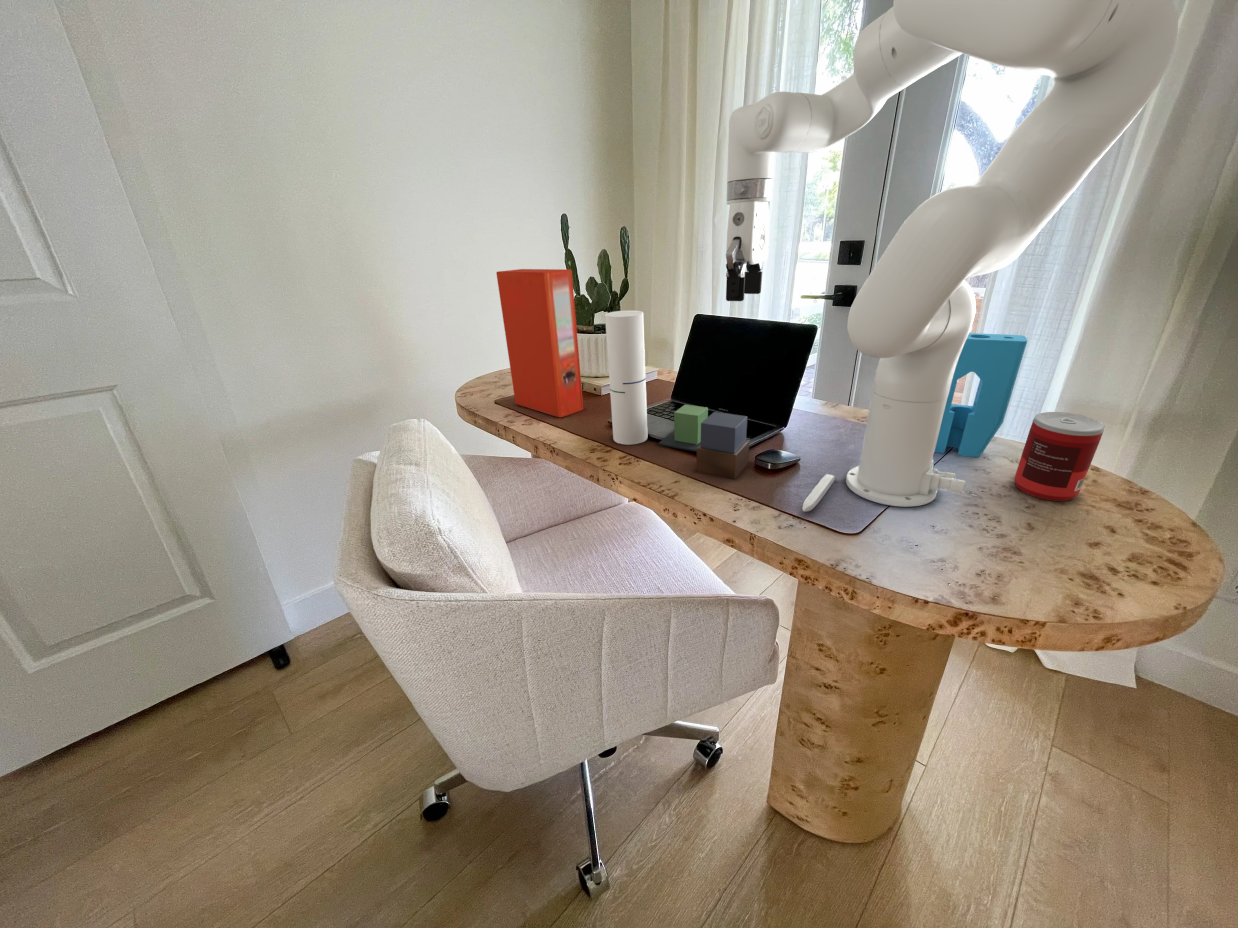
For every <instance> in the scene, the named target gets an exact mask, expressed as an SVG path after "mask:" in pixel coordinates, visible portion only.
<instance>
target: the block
mask: <svg viewBox="0 0 1238 928" xmlns="http://www.w3.org/2000/svg"><path fill="white" fill-rule="evenodd" d="M1028 341H1029V340H1028V338H1027V337H1026V336H1025V335H1022V334H1006V333H1005V334H1004V333H1003V334H1001V333H980V332H979V333H978V332H977V333H976V332H969V334H968V337H967V339H966V341H965V344H964V346H963V348H962V351H961V353H960V356H959V359H958V362H957V365H956V368H955V372H954V375H953V379H952V383H951V387H950V391H949V395H948V398H947V402H946V406H945V410H944V414H943V418H942V422H941V426H940V431H939V435H938V439H937V443H936V447H935V451H934V453H941V454H944V453H945V452H946V449H947V448H948V447H949V448H955V449H957V454H958V456H961V457H969V458H980V457H981V456H982V454H983V453H984V451H985V450H986V449H987V447H988V445H989V444H990V443H991V441H992V439H993V438H994V437H995V436H996V434H997V432H998V431H999V429H1000V428H1001V427H1002V425H1003V424H1004V421H1005V417H1006V415H1007V414H1006V413H1007V411H1008V407H1009V405H1010V400H1011V398H1012V394H1013V391H1014V389H1015V388H1014V387H1015V384H1016V380H1017V379H1018V374H1019V370H1020V367H1021V364H1022V361H1023V357H1024V354H1025V351H1026V349H1027V348H1026V347H1027V344H1028ZM970 373H974V374H975V375H976V376H977V377H978V378H979V382H978V385H977V389H976V393H975V397H974V400H973V404H972V405H965V404H955V403H953V400H954V396H955V391H956V388H957V384H958V380H960V379H962V378H963V377H965V376H966V375H969V374H970Z"/></svg>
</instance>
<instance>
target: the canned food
mask: <svg viewBox="0 0 1238 928" xmlns="http://www.w3.org/2000/svg"><path fill="white" fill-rule="evenodd" d="M1104 431H1105V425H1104V423H1103V422H1101V421H1099V420H1097V419H1095V418H1092V417H1090V416H1086V415H1082V414H1077V413H1071V412H1062V411H1045V412H1039V413H1037V414H1036V415H1035V416H1034V418H1033V419H1032V422H1031V425H1030V428H1029V431H1028V434H1027V437H1026V440H1025V443H1024V447H1023V450H1022V452H1021V456H1020V459H1019V462H1018V465H1017V469H1016V472H1015V475H1014V485H1015V487H1016V488H1017V489H1018V490H1020V491H1021V492H1022V493H1025V494H1026V495H1029V496H1032V497H1033V498H1038V499H1041V500H1046V501H1053V502H1065V501H1071V500H1073V499H1074V498H1076V497H1077V495H1079V493H1080V491H1081V489H1082V486H1083V484H1084V481H1085V479H1086V476H1087V474H1088V472H1089V469H1090V467H1091V464H1092V462H1093V460H1094V457H1095V454H1096V452H1097V449H1098V446H1099V445H1100V442H1101V440H1102V437H1103V434H1104Z"/></svg>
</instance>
